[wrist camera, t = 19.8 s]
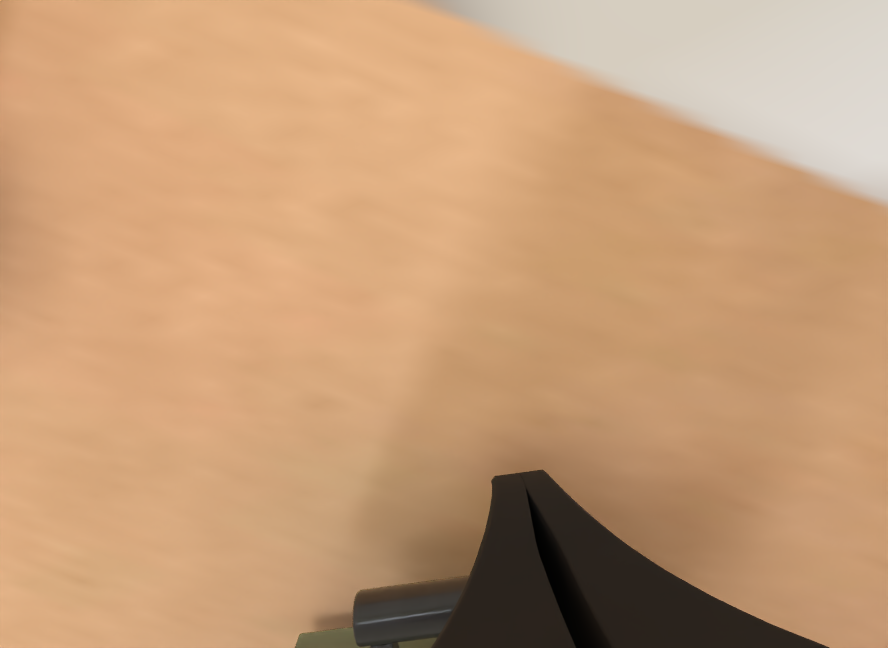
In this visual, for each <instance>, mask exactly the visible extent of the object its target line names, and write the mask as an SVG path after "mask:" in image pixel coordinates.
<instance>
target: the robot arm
mask: <svg viewBox="0 0 888 648" xmlns="http://www.w3.org/2000/svg"><path fill="white" fill-rule="evenodd" d="M431 648H829V647H827V646H824V645H822V644H819V643H817V642H814V641H812V640H809V639H806V638H804V637H801V636H799V635H796V634H794V633H791V632H789V631H786V630H784V629H781V628H779V627H776V626H774V625H772V624H769V623H767V622H765V621H763V620H761V619H758V618H756V617H754V616H752V615H750V614H748V613H746V612H743V611H741V610H739V609H737V608H735V607H733V606H731V605H729V604H727V603H725V602H723V601H721V600H719V599H717V598H715V597H713V596H711V595H709V594H707V593H705V592H703V591H701V590H700V589H698V588H696V587H694V586H692V585H691V584H689V583H687V582H685V581H683V580H682V579H680V578H678V577H676V576H674V575H673V574H671V573H669V572H668V571H666V570H664V569H663V568H661V567H660V566H658V565H656V564H655V563H653V562H652V561H650V560H649V559H647V558H646V557H644V556H643V555H641V554H640V553H638V552H637V551H635V550H634V549H632V548H631V547H630V546H628V545H627V544H626V543H624V542H623V541H622V540H620V539H619V538H618V537H616V536H615V535H614V534H613V533H611V532H610V531H609V530H607V529H606V528H605V527H604V526H603V525H601V524H600V523H599V522H598V521H597V520H595V519H594V518H593V517H592V516H591V515H590V514H589V513H587V512H586V511H585V510H584V509H583V508H582V507H581V506H580V505H578V504H577V503H576V502H575V501H574V500H573V499H572V498H571V497H570V496H569V495H568V494H567V493H566V492H565V491H564V490H563V489H562V488H561V487H560V486H559V485H558V484H557V483H556V482H555V481H554V480H553V479H552V478H551V477H550V476H549V475H548V474H547V473H546V472H545V471H544V470H537V471H530V472H522V473H515V474H507V475H500V476H495V477H494V478H493V479H492V499H491V506H490V512H489V516H488V520H487V525H486V529H485V533H484V536H483V539H482V542H481V545H480V549H479V552H478V555H477V558H476V561H475V563H474V566H473V568H472V571H471V573H470V576H469V578H468V580H467V583H466V585H465V587H464V590H463V592H462V594H461V596H460V598H459V600H458V602H457V604H456V606H455V608H454V610H453V612H452V613H451V615H450V617H449V619H448V621H447V623H446V624H445V626H444V628H443V630H442V631H441V633H440V634H439V636H438V637H437V639H436V641H435V642H434V644H433V645H432V647H431Z"/></svg>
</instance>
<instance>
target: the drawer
mask: <svg viewBox="0 0 888 648" xmlns="http://www.w3.org/2000/svg"><path fill="white" fill-rule="evenodd" d="M468 578H469V576H463V577H456V578H448V579H440V580H433V581H425V582H418V583H410V584H403V585H395V586H387V587H380V588H372V589H365V590H360V591H358V592H357V594H356V597H355V601H354V606H353V627H348V628H341V629H333V630H325V631H317V632H310V633H302V634H300V635H299V638H298V640H297V643H296V646H295V648H431V647H432V645H433V644H434V642H435V641H436V639H437V637H438V636H439V634H440V633H441V631H442V630H443V628H444V626H445V624H446V623H447V621H448V619H449V617H450V615H451V613H452V612H453V610H454V608H455V606H456V604H457V602H458V600H459V598H460V596H461V594H462V592H463V590H464V587H465V585H466V583H467V580H468Z"/></svg>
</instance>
